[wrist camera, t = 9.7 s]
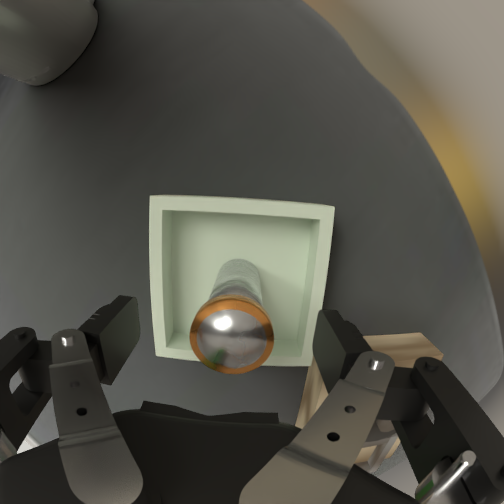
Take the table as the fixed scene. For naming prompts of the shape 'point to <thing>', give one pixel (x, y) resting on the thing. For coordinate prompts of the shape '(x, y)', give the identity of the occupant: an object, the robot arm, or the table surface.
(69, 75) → the table surface
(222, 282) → the pin
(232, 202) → the tray
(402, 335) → the pulley block
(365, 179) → the table surface
